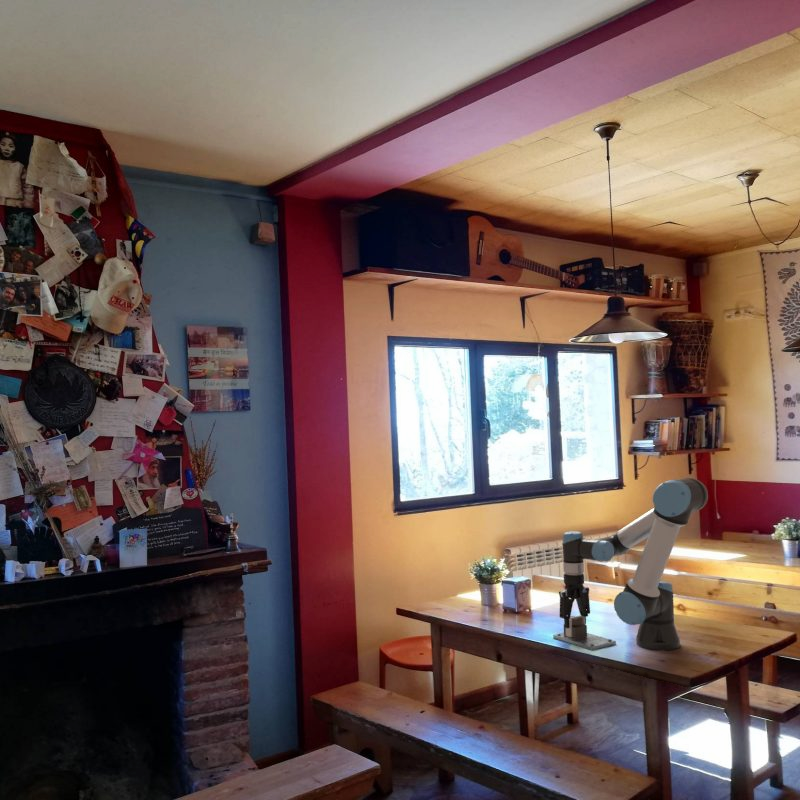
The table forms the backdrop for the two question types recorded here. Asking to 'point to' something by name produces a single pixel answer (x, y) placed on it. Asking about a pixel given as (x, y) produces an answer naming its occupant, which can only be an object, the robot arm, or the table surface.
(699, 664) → the table surface
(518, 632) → the table surface
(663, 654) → the table surface
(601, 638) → the plate
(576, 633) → the brown block
